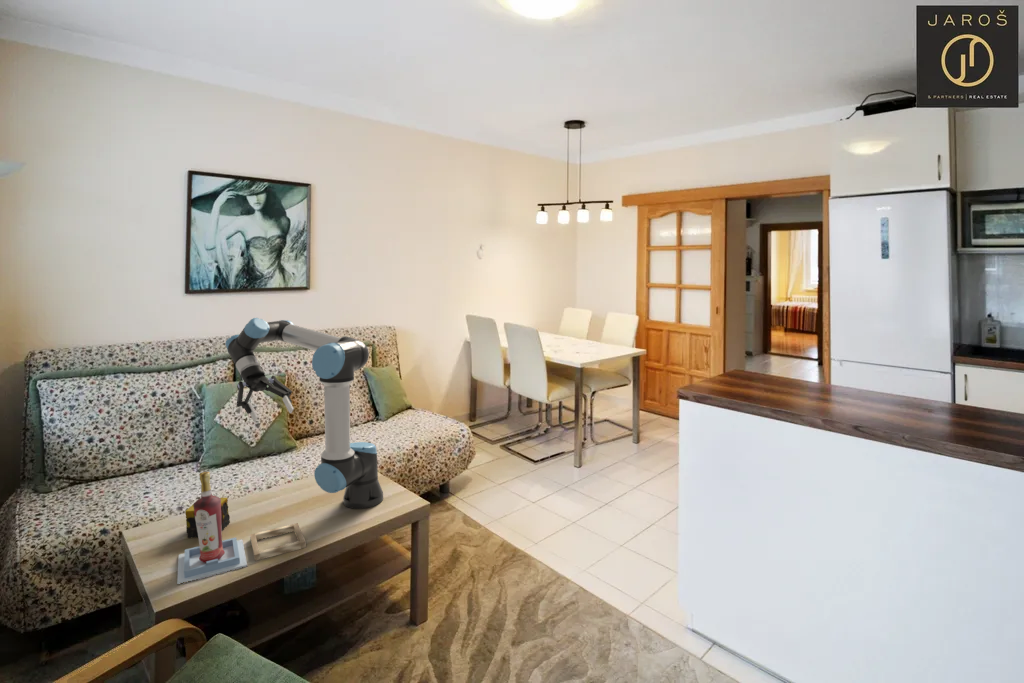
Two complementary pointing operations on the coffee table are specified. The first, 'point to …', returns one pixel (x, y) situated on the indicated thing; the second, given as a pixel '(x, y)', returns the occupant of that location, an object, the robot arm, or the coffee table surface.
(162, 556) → the coffee table surface
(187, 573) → the tray
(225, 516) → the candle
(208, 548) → the liquor
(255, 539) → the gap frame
